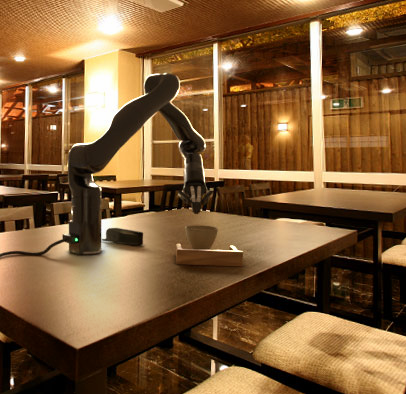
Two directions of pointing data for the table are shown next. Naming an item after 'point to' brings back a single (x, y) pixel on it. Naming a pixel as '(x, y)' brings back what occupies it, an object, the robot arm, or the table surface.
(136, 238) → the black rounded block
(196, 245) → the flower pot
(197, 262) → the low wooden tray
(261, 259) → the table surface
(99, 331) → the table surface
